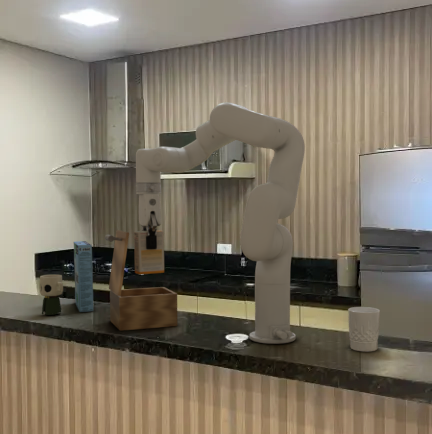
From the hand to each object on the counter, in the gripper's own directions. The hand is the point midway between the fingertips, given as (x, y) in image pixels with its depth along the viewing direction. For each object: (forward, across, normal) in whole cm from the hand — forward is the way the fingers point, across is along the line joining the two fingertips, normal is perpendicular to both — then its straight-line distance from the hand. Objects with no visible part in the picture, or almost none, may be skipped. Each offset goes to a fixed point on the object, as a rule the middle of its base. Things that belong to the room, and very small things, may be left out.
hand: (149, 247), depth 184 cm
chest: (+23, 0, +2) cm, 23 cm away
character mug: (+24, +25, +27) cm, 44 cm away
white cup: (+24, -51, -43) cm, 71 cm away
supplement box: (+8, 0, 0) cm, 8 cm away
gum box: (+24, +35, +15) cm, 45 cm away
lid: (+4, 0, +9) cm, 10 cm away
